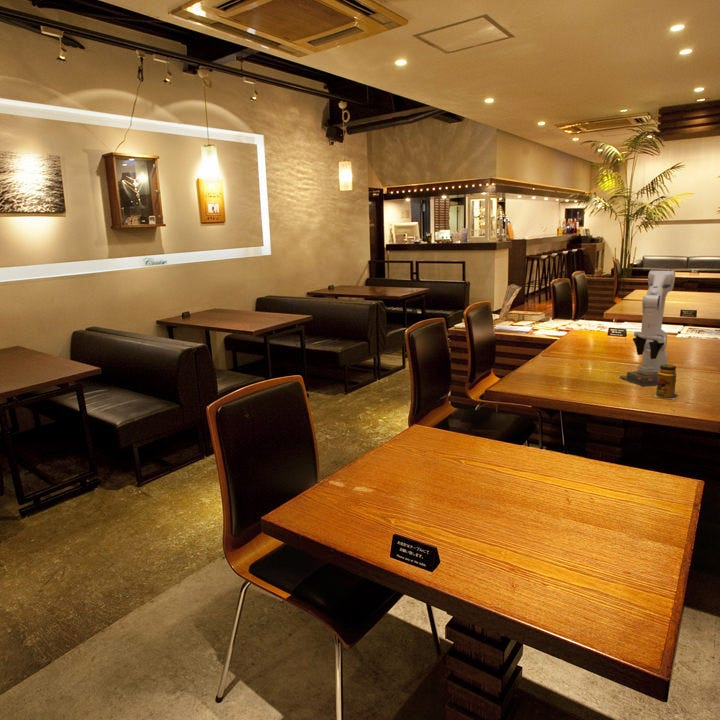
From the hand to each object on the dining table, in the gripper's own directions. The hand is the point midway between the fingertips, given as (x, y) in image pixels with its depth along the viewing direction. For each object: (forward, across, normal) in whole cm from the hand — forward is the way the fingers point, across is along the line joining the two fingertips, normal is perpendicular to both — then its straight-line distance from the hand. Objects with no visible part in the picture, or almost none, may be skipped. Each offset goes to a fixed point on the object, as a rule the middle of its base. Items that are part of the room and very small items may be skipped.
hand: (646, 356), depth 226 cm
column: (+10, 0, 0) cm, 10 cm away
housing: (+10, 0, 0) cm, 10 cm away
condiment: (+11, +19, -7) cm, 23 cm away
